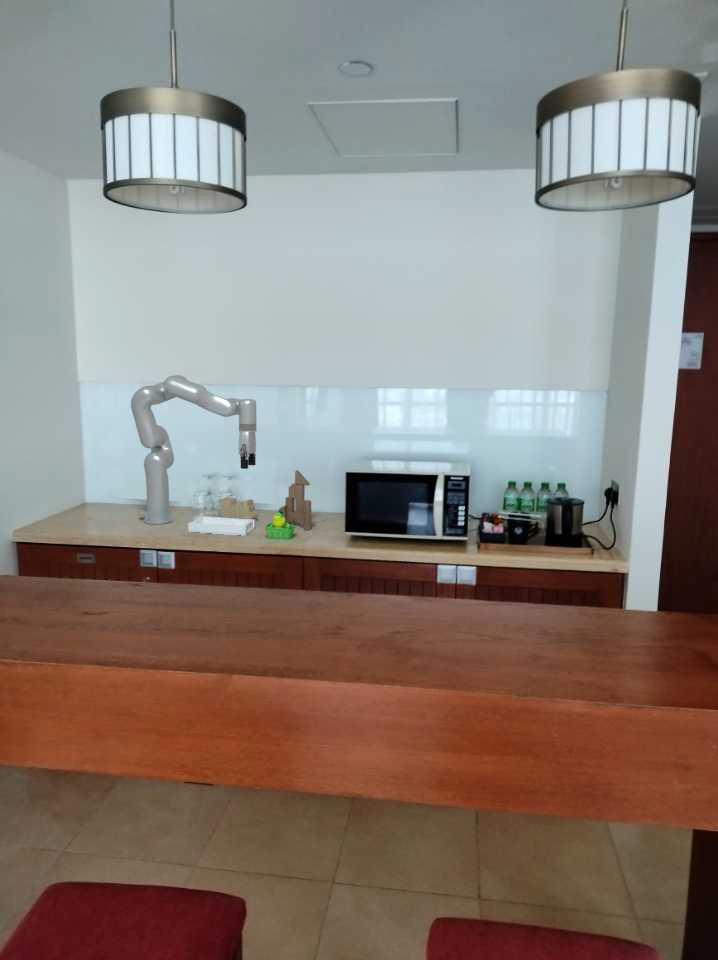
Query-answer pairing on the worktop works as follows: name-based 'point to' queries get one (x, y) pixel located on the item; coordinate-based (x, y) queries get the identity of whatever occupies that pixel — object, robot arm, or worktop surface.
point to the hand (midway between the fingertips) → (248, 466)
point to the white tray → (222, 525)
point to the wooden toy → (297, 503)
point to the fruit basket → (279, 528)
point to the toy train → (237, 508)
